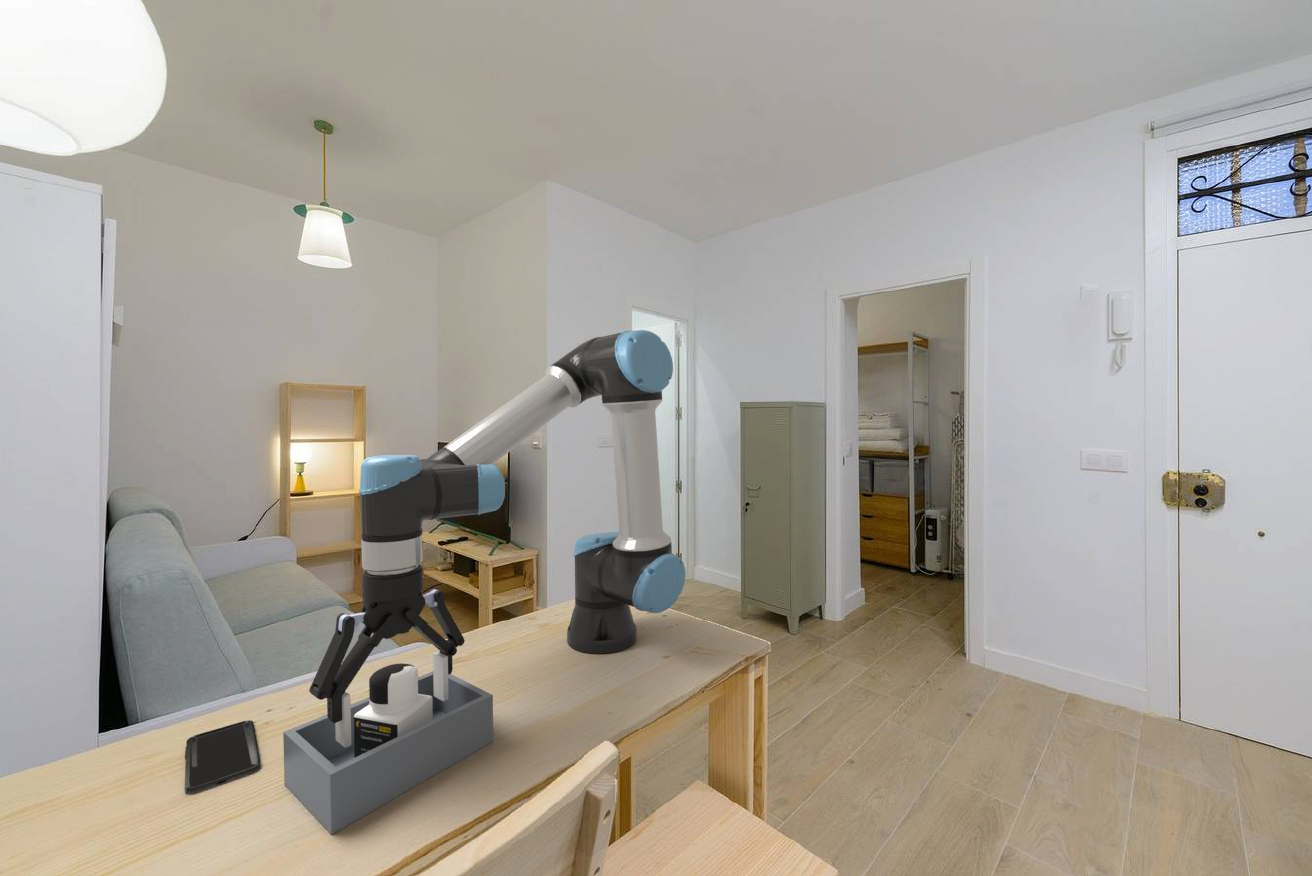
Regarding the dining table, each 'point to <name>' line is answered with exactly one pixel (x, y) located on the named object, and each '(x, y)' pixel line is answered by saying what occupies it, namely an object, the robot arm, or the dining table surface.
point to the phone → (220, 756)
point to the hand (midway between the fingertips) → (395, 718)
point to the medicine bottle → (391, 707)
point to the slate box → (383, 755)
